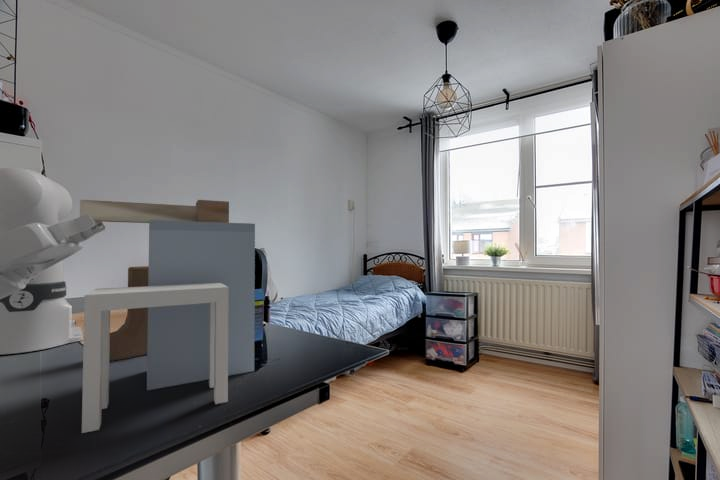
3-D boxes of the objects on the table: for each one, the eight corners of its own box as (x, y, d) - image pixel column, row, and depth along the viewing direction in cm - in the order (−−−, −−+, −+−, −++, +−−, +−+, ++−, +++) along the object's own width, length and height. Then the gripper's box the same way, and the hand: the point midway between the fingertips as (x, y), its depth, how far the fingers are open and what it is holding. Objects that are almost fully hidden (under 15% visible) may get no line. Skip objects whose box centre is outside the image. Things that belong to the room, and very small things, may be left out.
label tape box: (254, 337, 83) (254, 287, 83) (264, 340, 80) (264, 288, 81) (220, 345, 76) (220, 290, 76) (229, 348, 73) (230, 291, 74)
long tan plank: (85, 221, 54) (85, 196, 54) (224, 225, 65) (224, 205, 65) (78, 218, 50) (78, 191, 50) (228, 223, 60) (228, 201, 60)
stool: (94, 406, 46) (96, 288, 47) (219, 382, 54) (220, 282, 55) (81, 433, 39) (84, 295, 40) (227, 401, 47) (228, 287, 48)
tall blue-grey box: (149, 370, 60) (151, 224, 61) (242, 355, 68) (243, 227, 69) (146, 390, 51) (149, 219, 52) (254, 371, 59) (254, 223, 60)
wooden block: (102, 363, 64) (104, 268, 65) (99, 358, 67) (101, 267, 68) (156, 353, 70) (157, 266, 71) (151, 348, 73) (152, 266, 74)
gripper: (-74, 247, 37) (69, 194, 43) (4, 249, 55) (97, 210, 61) (-34, 295, 38) (99, 237, 45) (29, 281, 56) (118, 241, 62)
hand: (98, 222), depth 53 cm, fingers open, 8 cm apart
